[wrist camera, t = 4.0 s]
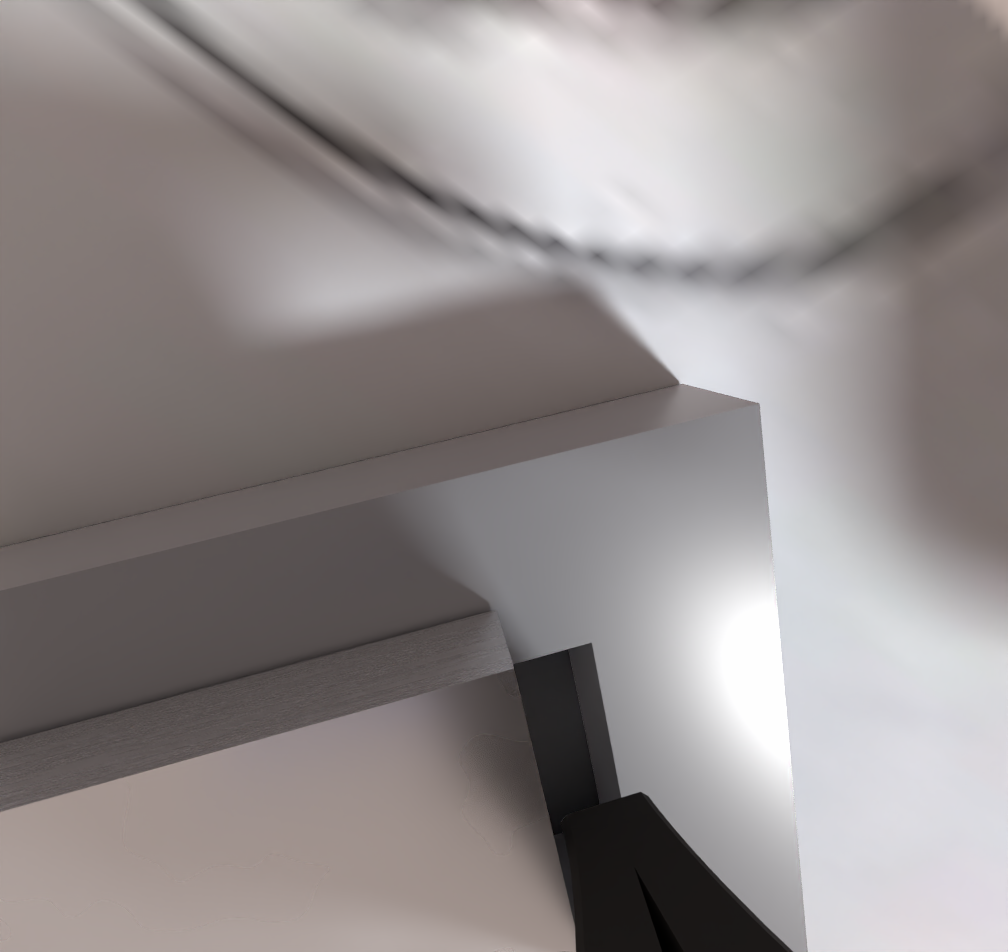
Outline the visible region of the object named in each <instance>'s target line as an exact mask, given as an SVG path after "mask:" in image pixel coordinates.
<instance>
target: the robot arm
mask: <svg viewBox="0 0 1008 952" xmlns="http://www.w3.org/2000/svg"><path fill="white" fill-rule="evenodd" d="M561 827H562V831H563V836H564V840H565V845H566V849H567V853H568V858H569V863H570V870H571V878H572V889H573V900H574V913H575V939H576V952H793V951H792V950H791V949H790V948H789V947H788V946H787V945H786V944H785V943H784V942H783V941H782V940H781V939H780V938H778V937H777V936H776V935H775V934H774V933H773V932H772V931H771V930H770V929H769V928H768V927H767V926H766V925H765V924H764V923H763V922H762V921H761V920H760V919H759V918H758V917H757V916H756V915H755V914H754V913H753V912H752V911H751V910H750V909H749V908H748V907H747V906H746V905H745V904H744V903H743V902H742V901H741V900H740V899H739V898H738V897H737V896H736V895H735V894H734V893H733V892H732V891H731V890H730V889H729V888H728V887H727V886H726V885H725V884H724V883H723V882H722V881H721V880H720V878H719V877H718V876H717V875H716V874H715V873H714V872H713V871H712V870H711V869H710V868H709V867H708V866H707V865H706V864H705V862H704V861H703V860H702V859H701V858H700V857H699V856H698V855H697V854H696V853H695V851H694V850H693V849H692V848H691V847H690V846H689V845H688V844H687V843H686V841H685V840H684V839H683V838H682V837H681V836H680V834H679V833H678V832H677V831H676V830H675V829H674V827H673V826H672V825H671V824H670V823H669V822H668V820H667V819H666V818H665V817H664V815H663V814H662V813H661V812H660V810H659V809H658V808H657V807H656V805H655V804H654V803H653V801H652V800H651V799H650V797H649V796H647V795H646V794H644V793H642V792H638V793H635V794H632V795H628V796H625V797H622V798H618V799H615V800H612V801H609V802H605V803H602V804H599V805H596V806H592V807H589V808H586V809H582V810H579V811H576V812H573V813H569V814H566V816H565V817H564V819H563V820H562V821H561Z"/></svg>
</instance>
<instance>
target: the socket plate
mask: <svg viewBox="0 0 1008 952" xmlns="http://www.w3.org/2000/svg"><path fill="white" fill-rule="evenodd" d="M493 610H496V611H497V615H498V618H499V621H500V624H501V628H502V631H503V634H504V637H505V640H506V644H507V647H508V650H509V653H510V657H511V660H512V663H513V664H516V663H520V662H524V661H527V660H531V659H534V658H538V657H541V656H545V655H549V654H552V653H556V652H559V651H563V650H567V649H568V650H569V655H570V660H571V665H572V670H573V675H574V680H575V685H576V690H577V695H578V700H579V704H580V709H581V714H582V719H583V724H584V729H585V734H586V739H587V744H588V749H589V754H590V758H591V763H592V768H593V773H594V778H595V783H596V788H597V793H598V798H599V803H600V804H602V803H605V802H609V801H612V800H615V799H618V798H622V797H625V796H628V795H632V794H635V793H638V792H642V793H644V794H646V795H647V796H649V797H650V799H651V800H652V801H653V803H654V804H655V805H656V807H657V808H658V809H659V810H660V812H661V813H662V814H663V815H664V817H665V818H666V819H667V820H668V822H669V823H670V824H671V825H672V826H673V827H674V829H675V830H676V831H677V832H678V833H679V834H680V836H681V837H682V838H683V839H684V840H685V841H686V843H687V844H688V845H689V846H690V847H691V848H692V849H693V850H694V851H695V853H696V854H697V855H698V856H699V857H700V858H701V859H702V860H703V861H704V862H705V864H706V865H707V866H708V867H709V868H710V869H711V870H712V871H713V872H714V873H715V874H716V875H717V876H718V877H719V878H720V880H721V881H722V882H723V883H724V884H725V885H726V886H727V887H728V888H729V889H730V890H731V891H732V892H733V893H734V894H735V895H736V896H737V897H738V898H739V899H740V900H741V901H742V902H743V903H744V904H745V905H746V906H747V907H748V908H749V909H750V910H751V911H752V912H753V913H754V914H755V915H756V916H757V917H758V918H759V919H760V920H761V921H762V922H763V923H764V924H765V925H766V926H767V927H768V928H769V929H770V930H771V931H772V932H773V933H774V934H775V935H776V936H777V937H778V938H780V939H781V940H782V941H783V942H784V943H785V944H786V945H787V946H788V947H789V948H790V949H791V950H792V951H793V952H808V950H807V939H806V928H805V916H804V905H803V893H802V882H801V871H800V859H799V848H798V837H797V825H796V814H795V803H794V791H793V780H792V768H791V757H790V746H789V734H788V723H787V712H786V700H785V689H784V678H783V666H782V655H781V643H780V632H779V621H778V609H777V598H776V587H775V575H774V564H773V553H772V541H771V530H770V518H769V507H768V496H767V484H766V473H765V462H764V450H763V439H762V428H761V416H760V405H759V403H755V402H751V401H747V400H743V399H739V398H735V397H732V396H728V395H724V394H720V393H716V392H712V391H708V390H704V389H700V388H697V387H693V386H689V385H685V384H680V385H675V386H671V387H667V388H663V389H659V390H655V391H650V392H646V393H642V394H638V395H634V396H630V397H625V398H621V399H617V400H613V401H609V402H605V403H600V404H596V405H592V406H588V407H584V408H580V409H575V410H571V411H567V412H563V413H559V414H555V415H551V416H546V417H542V418H538V419H534V420H530V421H526V422H521V423H517V424H513V425H509V426H505V427H501V428H496V429H492V430H488V431H484V432H480V433H476V434H471V435H467V436H463V437H459V438H455V439H451V440H446V441H442V442H438V443H434V444H430V445H426V446H421V447H417V448H413V449H409V450H405V451H401V452H396V453H392V454H388V455H384V456H380V457H376V458H371V459H367V460H363V461H359V462H355V463H351V464H346V465H342V466H338V467H334V468H330V469H326V470H321V471H317V472H313V473H309V474H305V475H301V476H296V477H292V478H288V479H284V480H280V481H276V482H271V483H267V484H263V485H259V486H255V487H251V488H246V489H242V490H238V491H234V492H230V493H226V494H221V495H217V496H213V497H209V498H205V499H201V500H196V501H192V502H188V503H184V504H180V505H176V506H171V507H167V508H163V509H159V510H155V511H151V512H146V513H142V514H138V515H134V516H130V517H126V518H121V519H117V520H113V521H109V522H105V523H101V524H96V525H92V526H88V527H84V528H80V529H76V530H71V531H67V532H63V533H59V534H55V535H51V536H46V537H42V538H38V539H34V540H30V541H26V542H21V543H17V544H13V545H9V546H5V547H1V548H0V743H3V742H7V741H10V740H14V739H18V738H21V737H25V736H29V735H33V734H36V733H40V732H44V731H48V730H51V729H55V728H59V727H62V726H66V725H70V724H74V723H77V722H81V721H85V720H88V719H92V718H96V717H100V716H103V715H107V714H111V713H114V712H118V711H122V710H126V709H129V708H133V707H137V706H140V705H144V704H148V703H152V702H155V701H159V700H163V699H166V698H170V697H174V696H178V695H181V694H185V693H189V692H192V691H196V690H200V689H204V688H207V687H211V686H215V685H218V684H222V683H226V682H230V681H233V680H237V679H241V678H244V677H248V676H252V675H256V674H259V673H263V672H267V671H270V670H274V669H278V668H282V667H285V666H289V665H293V664H296V663H300V662H304V661H308V660H311V659H315V658H319V657H323V656H326V655H330V654H334V653H337V652H341V651H345V650H349V649H352V648H356V647H360V646H363V645H367V644H371V643H375V642H378V641H382V640H386V639H389V638H393V637H397V636H401V635H404V634H408V633H412V632H415V631H419V630H423V629H427V628H430V627H434V626H438V625H441V624H445V623H449V622H453V621H456V620H460V619H464V618H467V617H471V616H475V615H479V614H482V613H486V612H490V611H493ZM554 839H555V844H556V848H557V852H558V856H559V861H560V865H561V869H562V873H563V878H564V882H565V886H566V890H567V895H568V899H569V903H570V907H571V912H572V916H573V920H574V924H575V913H574V900H573V889H572V878H571V870H570V863H569V858H568V853H567V849H566V845H565V840H564V836H563V833H560V834H557V835H554Z"/></svg>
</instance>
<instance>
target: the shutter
mask: <svg viewBox="0 0 1008 952" xmlns="http://www.w3.org/2000/svg"><path fill="white" fill-rule="evenodd" d="M0 952H576V939H575V924H574V920H573V916H572V912H571V907H570V903H569V899H568V895H567V890H566V886H565V882H564V878H563V873H562V869H561V865H560V861H559V856H558V852H557V848H556V844H555V839H554V835H553V831H552V827H551V822H550V818H549V814H548V810H547V805H546V801H545V797H544V793H543V789H542V784H541V780H540V776H539V772H538V767H537V763H536V759H535V755H534V750H533V746H532V742H531V738H530V733H529V729H528V725H527V721H526V716H525V712H524V708H523V704H522V699H521V695H520V691H519V687H518V682H517V678H516V674H515V670H514V666H513V663H512V660H511V657H510V653H509V650H508V647H507V644H506V640H505V637H504V634H503V631H502V628H501V624H500V621H499V618H498V615H497V611H496V610H493V611H490V612H486V613H482V614H479V615H475V616H471V617H467V618H464V619H460V620H456V621H453V622H449V623H445V624H441V625H438V626H434V627H430V628H427V629H423V630H419V631H415V632H412V633H408V634H404V635H401V636H397V637H393V638H389V639H386V640H382V641H378V642H375V643H371V644H367V645H363V646H360V647H356V648H352V649H349V650H345V651H341V652H337V653H334V654H330V655H326V656H323V657H319V658H315V659H311V660H308V661H304V662H300V663H296V664H293V665H289V666H285V667H282V668H278V669H274V670H270V671H267V672H263V673H259V674H256V675H252V676H248V677H244V678H241V679H237V680H233V681H230V682H226V683H222V684H218V685H215V686H211V687H207V688H204V689H200V690H196V691H192V692H189V693H185V694H181V695H178V696H174V697H170V698H166V699H163V700H159V701H155V702H152V703H148V704H144V705H140V706H137V707H133V708H129V709H126V710H122V711H118V712H114V713H111V714H107V715H103V716H100V717H96V718H92V719H88V720H85V721H81V722H77V723H74V724H70V725H66V726H62V727H59V728H55V729H51V730H48V731H44V732H40V733H36V734H33V735H29V736H25V737H21V738H18V739H14V740H10V741H7V742H3V743H0Z"/></svg>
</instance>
